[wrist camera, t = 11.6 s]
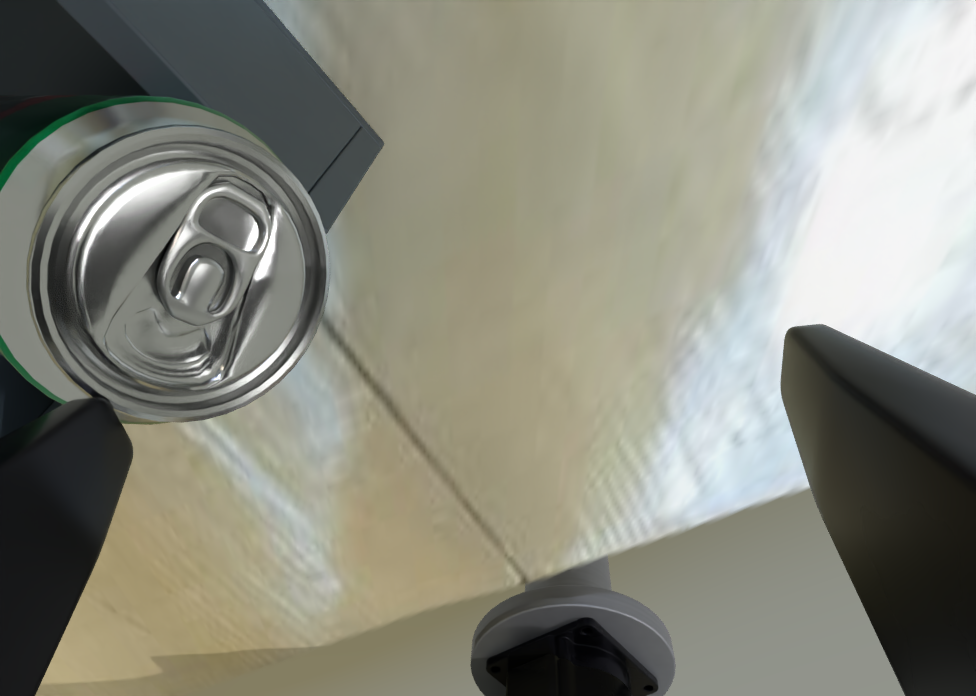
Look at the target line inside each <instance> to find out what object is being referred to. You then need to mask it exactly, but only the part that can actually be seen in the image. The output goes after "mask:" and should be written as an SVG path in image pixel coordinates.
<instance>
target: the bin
mask: <svg viewBox="0 0 976 696" xmlns="http://www.w3.org/2000/svg"><path fill="white" fill-rule="evenodd" d="M0 95H117V96H158V97H171V98H175V99H180V100H185V101H189V102H194V103H197V104H200V105H203V106H205V107H208V108H211V109H213V110H216V111H218V112H221V113H223V114H225V115H226V116H228V117H230V118H232V119H233V120H235V121H237V122H239V123H240V124H242V125H244V126H245V127H246V128H248V129H249V130H250V131H251V132H253V133H254V134H255V135H256V136H258V137H259V138H260V139H262V140H263V141H264V142H265V143H266V144H267V145H268V146H269V147H270V149H271V150H272V151H273V152H274V153H275V154H276V155H277V156H278V157H279V158H280V159H281V161H282V162H283V164H284V165H285V166H286V167H287V168H288V169H289V170H290V171H291V172H292V174H293V175H294V176H295V177H296V178H297V179H298V180H299V181H300V183H301V184H302V186H303V187H304V189H305V190H306V191H307V193H308V194H309V196H310V197H311V199H312V201H313V203H314V205H315V207H316V209H317V211H318V213H319V215H320V218H321V221H322V225H323V228H324V231H325V234H327V233H328V231H329V229H330V228H331V226H332V225H333V223H334V222H335V220H336V219H337V217H338V215H339V214H340V212H341V211H342V209H343V208H344V206H345V205H346V203H347V201H348V200H349V198H350V197H351V195H352V194H353V192H354V191H355V189H356V187H357V186H358V184H359V183H360V181H361V180H362V178H363V177H364V175H365V173H366V172H367V170H368V169H369V167H370V166H371V164H372V163H373V161H374V159H375V158H376V156H377V155H378V153H379V152H380V150H381V149H382V147H383V146H384V142H383V141H382V140H381V138H380V137H379V136H378V135H377V134H376V133H375V131H374V130H373V129H372V128H371V127H370V126H369V124H368V123H367V122H366V121H365V120H364V119H363V117H362V116H361V115H360V114H359V113H358V111H357V110H356V109H355V108H354V107H353V106H352V104H351V103H350V102H349V101H348V100H347V99H346V97H345V96H344V95H343V94H342V93H341V92H340V90H339V89H338V88H337V87H336V86H335V84H334V83H333V82H332V81H331V80H330V79H329V77H328V76H327V75H326V74H325V73H324V72H323V70H322V69H321V68H320V67H319V66H318V65H317V63H316V62H315V61H314V60H313V59H312V58H311V56H310V55H309V54H308V53H307V52H306V50H305V49H304V48H303V47H302V46H301V45H300V43H299V42H298V41H297V40H296V39H295V38H294V36H293V35H292V34H291V33H290V32H289V31H288V29H287V28H286V27H285V26H284V25H283V23H282V22H281V21H280V20H279V19H278V18H277V16H276V15H275V14H274V13H273V12H272V11H271V9H270V8H269V7H268V6H267V5H266V4H265V2H264V1H263V0H0ZM61 405H63V404H61V403H59V402H57V401H55V400H53V399H51V398H49V397H48V396H46V395H45V394H44V393H43V392H41V391H40V390H39V389H37V388H36V387H35V386H33V385H32V384H31V383H29V382H28V381H27V380H26V379H25V378H24V377H23V376H22V375H21V374H20V373H19V372H18V371H17V370H16V369H15V368H14V367H13V366H12V365H11V364H10V363H9V362H8V361H7V360H6V359H5V358H4V357H3V356H2V355H1V353H0V438H1V437H3V436H5V435H7V434H8V433H10V432H12V431H14V430H16V429H18V428H20V427H22V426H24V425H25V424H27V423H29V422H31V421H33V420H35V419H37V418H39V417H40V416H42V415H44V414H46V413H48V412H50V411H52V410H54V409H56V408H57V407H59V406H61Z"/></svg>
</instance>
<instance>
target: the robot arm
mask: <svg viewBox="0 0 976 696" xmlns="http://www.w3.org/2000/svg"><path fill="white" fill-rule="evenodd" d="M781 395H782V400H783V403H784V407H785V410H786V413H787V416H788V419H789V422H790V425H791V428H792V432H793V435H794V438H795V441H796V444H797V447H798V450H799V453H800V457H801V460H802V463H803V466H804V469H805V472H806V475H807V479H808V482H809V485H810V488H811V491H812V494H813V496H814V499H815V502H816V504H817V507H818V509H819V512H820V514H821V516H822V518H823V521H824V523H825V525H826V527H827V529H828V532H829V534H830V536H831V538H832V540H833V542H834V544H835V546H836V549H837V551H838V553H839V555H840V557H841V559H842V561H843V564H844V566H845V568H846V570H847V572H848V574H849V576H850V578H851V581H852V583H853V585H854V587H855V589H856V591H857V593H858V596H859V598H860V600H861V602H862V604H863V606H864V608H865V611H866V613H867V615H868V617H869V619H870V621H871V624H872V626H873V628H874V630H875V632H876V634H877V636H878V638H879V641H880V643H881V645H882V647H883V649H884V651H885V653H886V655H887V658H888V660H889V662H890V664H891V666H892V668H893V671H894V672H895V675H896V677H897V679H898V681H899V683H900V686H901V688H902V690H903V692H904V694H905V696H976V395H975V394H972V393H970V392H968V391H966V390H964V389H962V388H960V387H957V386H955V385H953V384H951V383H949V382H947V381H944V380H942V379H940V378H938V377H936V376H934V375H932V374H929V373H927V372H925V371H923V370H921V369H919V368H917V367H914V366H912V365H910V364H908V363H906V362H904V361H901V360H899V359H897V358H895V357H893V356H891V355H889V354H886V353H884V352H882V351H880V350H878V349H876V348H874V347H871V346H869V345H867V344H865V343H863V342H861V341H858V340H856V339H854V338H852V337H850V336H848V335H846V334H843V333H841V332H839V331H837V330H835V329H833V328H831V327H828V326H826V325H823V324H816V325H806V326H797V327H792V328H790V329H789V330H788V331H787V333H786V335H785V340H784V350H783V361H782V372H781ZM132 458H133V446H132V443H131V440H130V438H129V436H128V435H127V433H126V431H125V429H124V427H123V426H122V424H121V422H120V420H119V418H118V416H117V415H116V413H115V411H114V409H113V407H112V406H111V404H110V403H109V402H108V401H107V400H105V399H104V398H101V397H93V398H83V399H75V400H71V401H69V402H67V403H65V404H63V405H61V406H59V407H57V408H56V409H54V410H52V411H50V412H48V413H46V414H44V415H42V416H40V417H39V418H37V419H35V420H33V421H31V422H29V423H27V424H25V425H24V426H22V427H20V428H18V429H16V430H14V431H12V432H10V433H8V434H7V435H5V436H3V437H1V438H0V696H35V694H36V692H37V690H38V688H39V686H40V684H41V681H42V679H43V677H44V675H45V673H46V671H47V668H48V666H49V664H50V662H51V660H52V658H53V655H54V653H55V651H56V649H57V647H58V644H59V642H60V640H61V638H62V636H63V634H64V631H65V629H66V627H67V625H68V623H69V621H70V618H71V616H72V614H73V612H74V610H75V608H76V605H77V603H78V601H79V599H80V597H81V595H82V592H83V590H84V588H85V586H86V584H87V581H88V579H89V577H90V575H91V573H92V571H93V568H94V566H95V564H96V561H97V559H98V557H99V554H100V552H101V549H102V546H103V544H104V541H105V538H106V535H107V532H108V529H109V526H110V523H111V521H112V518H113V515H114V512H115V509H116V506H117V503H118V500H119V497H120V494H121V491H122V488H123V485H124V483H125V480H126V477H127V474H128V471H129V468H130V465H131V462H132ZM486 671H487V672H488V673H489V674H490V675H491V676H493V677H494V678H495V679H496V680H497V681H499V682H500V683H501V684H502V685H504V686H505V687H506V696H647V695H650V694H653V693H655V692H657V690H658V681H657V678H656V677H655V676H654V675H653V674H652V673H651V672H649V671H648V670H647V669H646V668H645V667H644V666H643V665H642V664H641V663H640V662H639V661H638V660H637V659H636V658H635V657H634V656H633V655H631V654H630V653H629V652H628V651H627V650H626V649H625V648H624V647H623V646H622V645H621V644H620V643H619V642H618V641H617V640H616V639H615V638H613V637H612V636H611V635H610V634H609V633H608V632H607V631H606V630H605V629H604V628H603V627H602V626H601V625H600V624H599V623H598V622H597V621H595V620H594V619H592V618H589V617H584V618H580V619H578V620H576V621H573V622H571V623H569V624H566V625H564V626H562V627H559V628H557V629H555V630H552V631H550V632H548V633H545V634H543V635H541V636H538V637H536V638H534V639H531V640H529V641H527V642H524V643H522V644H520V645H517V646H515V647H513V648H511V649H508V650H506V651H504V652H501V653H499V654H497V655H494V656H492V657H490V658H488V659H487V661H486Z"/></svg>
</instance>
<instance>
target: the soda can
mask: <svg viewBox="0 0 976 696" xmlns="http://www.w3.org/2000/svg"><path fill="white" fill-rule="evenodd" d="M329 280H330V258H329V250H328V244H327V238H326V234H325V231H324V228H323V225H322V221H321V218H320V215H319V213H318V211H317V209H316V207H315V205H314V203H313V201H312V199H311V197H310V196H309V194H308V193H307V191H306V190H305V189H304V187H303V186H302V184H301V183H300V181H299V180H298V179H297V178H296V177H295V176H294V175H293V174H292V172H291V171H290V170H289V169H288V168H287V167H286V166H285V165H284V164H283V162H282V161H281V159H280V158H279V157H278V156H277V155H276V154H275V153H274V152H273V151H272V150H271V149H270V147H269V146H268V145H267V144H266V143H265V142H264V141H263V140H262V139H260V138H259V137H258V136H256V135H255V134H254V133H253V132H251V131H250V130H249V129H248V128H246V127H245V126H244V125H242V124H240V123H239V122H237V121H235V120H233V119H232V118H230V117H228V116H226V115H225V114H223V113H221V112H218V111H216V110H213V109H211V108H208V107H205V106H203V105H200V104H197V103H194V102H189V101H185V100H180V99H175V98H171V97H158V96H117V95H0V353H1V355H2V356H3V357H4V358H5V359H6V360H7V361H8V362H9V363H10V364H11V365H12V366H13V367H14V368H15V369H16V370H17V371H18V372H19V373H20V374H21V375H22V376H23V377H24V378H25V379H26V380H27V381H28V382H29V383H31V384H32V385H33V386H35V387H36V388H37V389H39V390H40V391H41V392H43V393H44V394H45V395H46V396H48V397H49V398H51V399H53V400H55V401H57V402H59V403H61V404H65V403H67V402H69V401H71V400H75V399H83V398H93V397H101V398H104V399H105V400H107V401H108V402H109V403H110V404H111V406H112V407H113V409H114V411H115V413H116V415H117V416H118V418H119V420H120V422H121V423H124V424H160V423H168V422H189V421H198V420H205V419H209V418H213V417H216V416H220V415H224V414H227V413H229V412H232V411H234V410H236V409H239V408H241V407H243V406H246V405H247V404H249V403H251V402H252V401H254V400H256V399H257V398H259V397H261V396H262V395H264V394H265V393H267V392H268V391H269V390H270V389H272V388H273V387H274V386H275V385H277V384H278V383H279V382H280V381H281V380H282V379H283V378H284V377H285V376H286V375H287V374H288V373H289V372H290V371H291V370H292V369H293V368H294V367H295V365H296V364H297V363H298V361H299V360H300V358H301V357H302V356H303V354H304V353H305V352H306V350H307V348H308V347H309V345H310V343H311V341H312V339H313V338H314V336H315V334H316V332H317V329H318V327H319V324H320V321H321V319H322V316H323V313H324V309H325V305H326V301H327V297H328V290H329Z"/></svg>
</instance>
